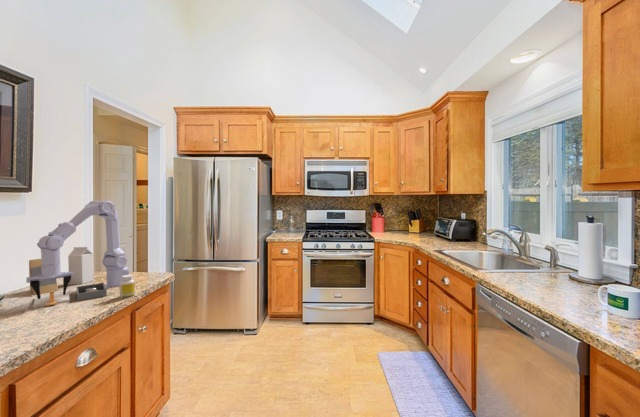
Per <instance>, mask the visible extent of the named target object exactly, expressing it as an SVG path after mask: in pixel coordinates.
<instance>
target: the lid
mask: <svg viewBox="0 0 640 417" xmlns="http://www.w3.org/2000/svg"><path fill="white" fill-rule="evenodd" d="M40 296H41V298H40V299H38V298H37V295H35V298H34V301H33V302H32V306H31V308H32V309H35V308H41V307H49V306H54V305H59V304H65V303H70V301H71V290H68V291H67V290H66V293H65V295H63V291H62V292H57V293H55V292H54V291H50V293H47V294H45V295H44V294H41V295H40Z"/></svg>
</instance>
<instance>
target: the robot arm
mask: <svg viewBox="0 0 640 417" xmlns="http://www.w3.org/2000/svg"><path fill="white" fill-rule="evenodd" d="M96 215H98V216H99V217H101V218H103V219H104V220H105V237H106V251H104V253H103V258H102V260H101V261H102V262H101V263H102V266H104V267H105V272H106V283H104V284H105V287H106V289H109V288H115V287H120V282H121V281H122V276H124V275H130V270H129V267H128V266H126V265H127V263H128V259H127V256H126V252H125V251H124V250H123V249H122V248H121V234H120V220H119V213H118V211H117V209H116V204H114V203H113V202H112V201H110V200H92V201H90V202H88V203H87V204H85V206H84V207H83V208H81V210H80V211H79V212H78V213H77V214H76V215H75V216H74V217H72V218H71V219H70V220H69V221H64V222H62V223H61V222H60V223H58V224H57V227H56V228H54V229H53V230H52V231H49V232H48V234H47V235H44V236H42V237H40V238H39V240H38V242H37V243H36V244H37V245H36V246H37V247H38V248H39V249H40V255H41V256H40V259H41V264H42V275H39V276H33V277H29V276H28V277H26V279H25V280H26V284H29V286H30V285H31V287H32V288H33V289H34V291H35V292H36V295H35V296H37V298H38V299H40V298H41V296H42V295H41V294H40V281H42V280H50V279H56V280H57V279H62V281H63V282H62V284H63V287H62V290H63V291H62V292H63V295H65V293H66V292H67V288H68V285H69V282H70V280H71V277H74V272H69V271H64V272H61V248H62V247H63V245H64V242H65V241H66V240H67V239H68V238H70V237H71V235H73V234H74V233H76V231H77V227H78V226H79V225H80V224H82V223H84V222H85V221H86V220H87V219H89V218H90V217H92V216H96ZM46 278H47V279H46Z"/></svg>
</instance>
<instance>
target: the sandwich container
mask: <svg viewBox="0 0 640 417" xmlns="http://www.w3.org/2000/svg"><path fill="white" fill-rule="evenodd" d="M28 267H29V268H28V270H29V274H28V275H29V276H28V277H33V276H39V275H42V264H41V258H36V259H34V258H33V259H30V260H28ZM46 279H47V278H46ZM29 290H30V293H31V294H32V295H33V296H37V295H36V292H35V291H34V289H33V288H32V287H31V285H30V284H29ZM50 291H54V293H55V292H59V286H58V282H57V279H50V280H42V281H40V295H44V294H45V295H46V294H50Z"/></svg>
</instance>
